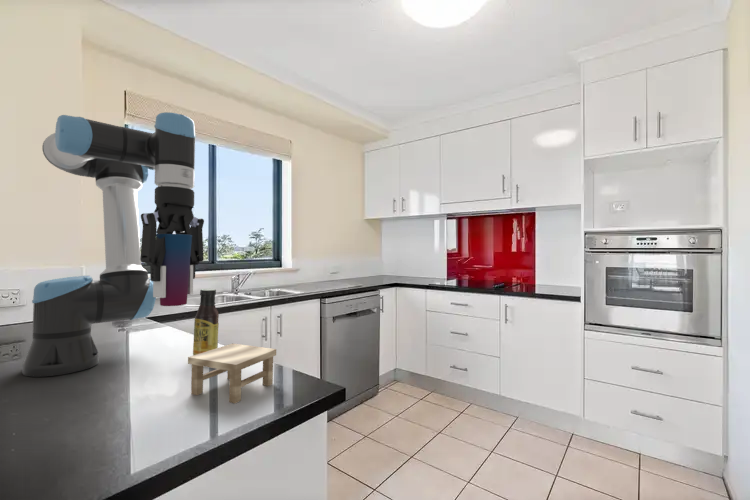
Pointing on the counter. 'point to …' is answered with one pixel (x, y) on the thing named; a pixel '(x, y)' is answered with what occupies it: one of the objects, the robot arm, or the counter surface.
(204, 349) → the sauce bottle
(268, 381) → the beige streaked flat-top fixture
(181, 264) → the cup
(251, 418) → the counter surface
